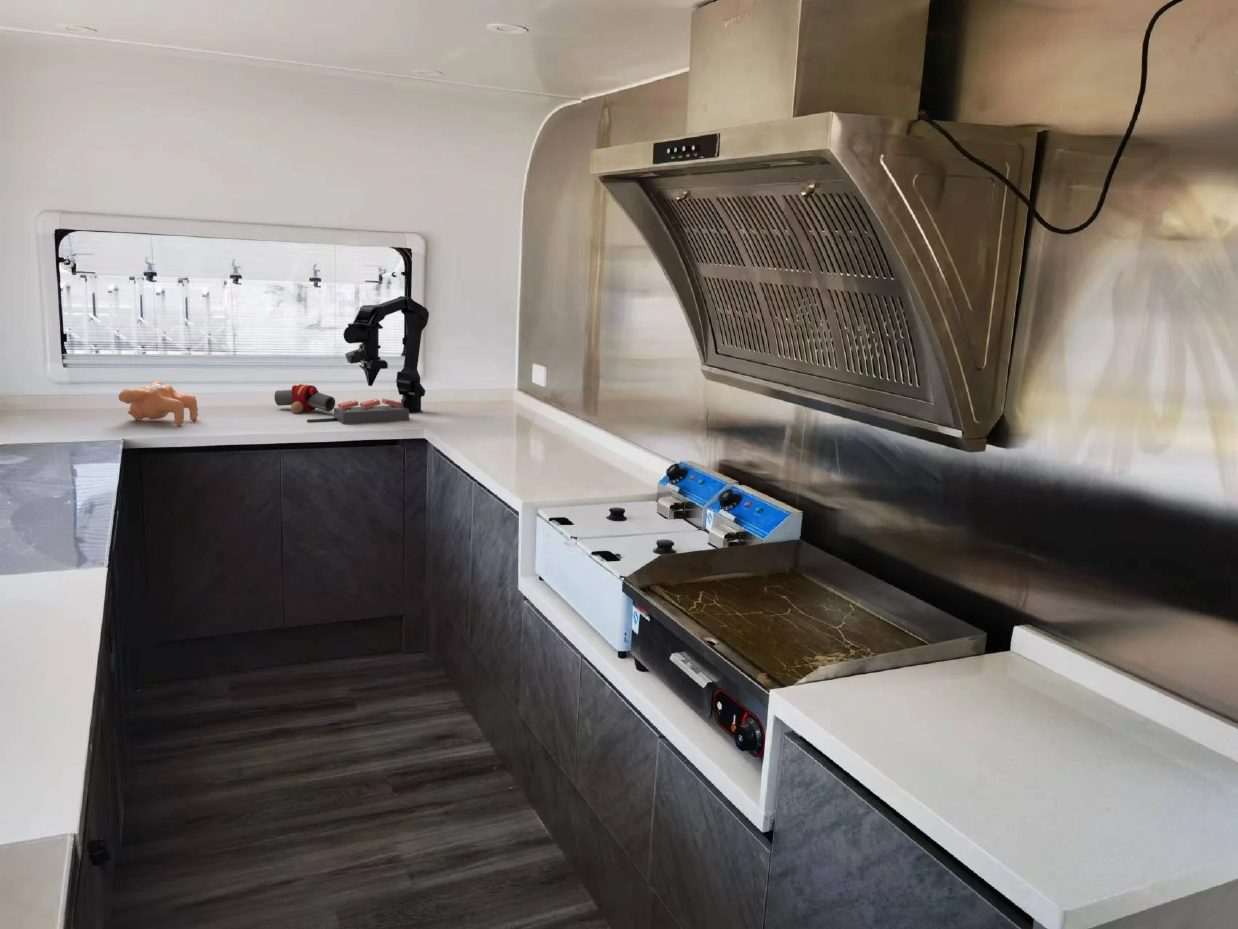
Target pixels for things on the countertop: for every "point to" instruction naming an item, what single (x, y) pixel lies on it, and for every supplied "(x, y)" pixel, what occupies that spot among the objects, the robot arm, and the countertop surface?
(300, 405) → the toy
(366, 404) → the plate
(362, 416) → the power strip
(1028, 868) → the countertop surface
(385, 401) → the red rectangular block
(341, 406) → the rocker
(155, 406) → the figurine
